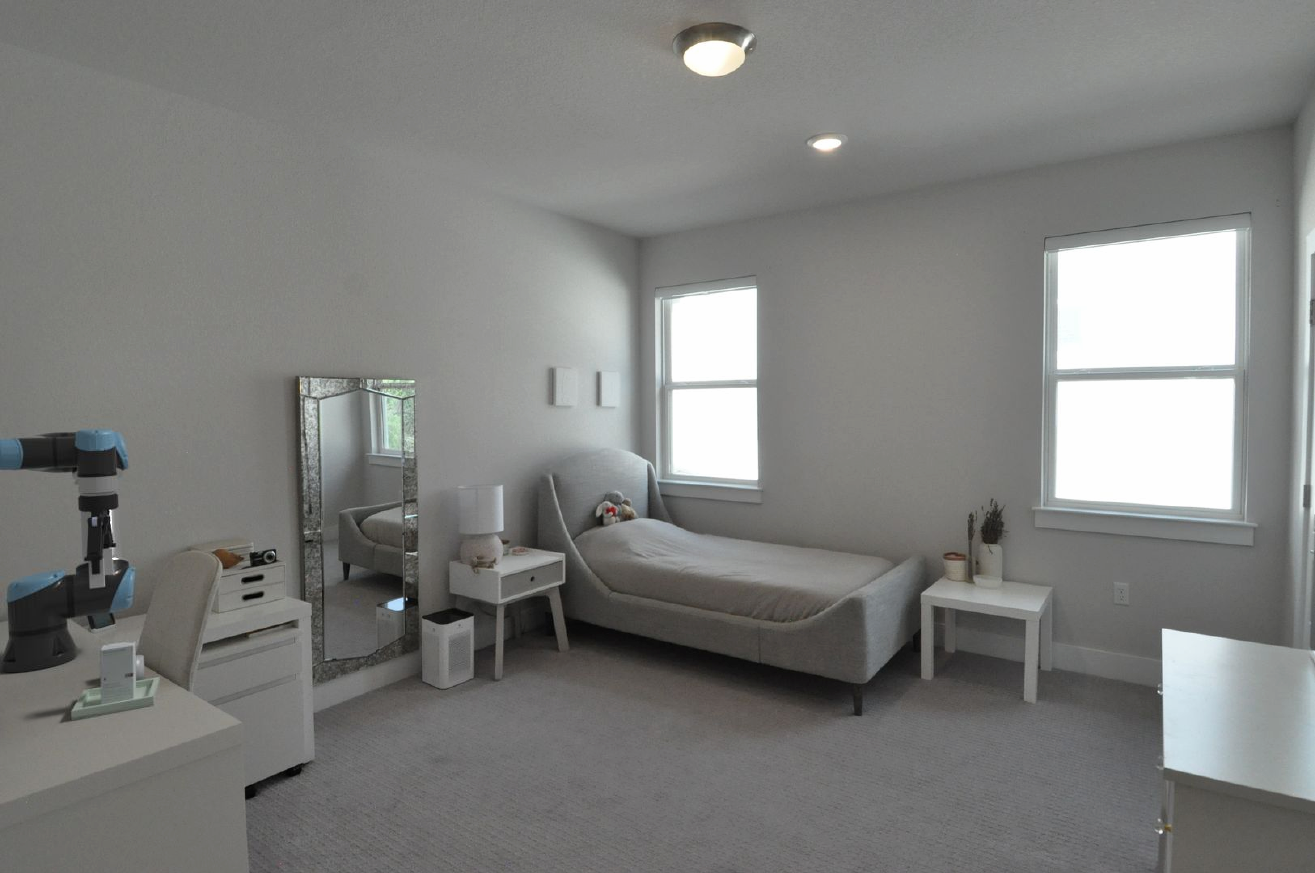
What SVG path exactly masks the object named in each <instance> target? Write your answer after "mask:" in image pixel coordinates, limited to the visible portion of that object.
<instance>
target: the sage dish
mask: <svg viewBox="0 0 1315 873" xmlns="http://www.w3.org/2000/svg"><path fill="white" fill-rule="evenodd" d="M160 679H161V678H160V676H158V677H157V676H156V677H152V678H147V679H146V678H145V680H139V681H136V694H135V696H134V698H133V699H129V700H123V701H118V702H112V703H106V704H101V686H100V687H93V688H88V689H84V690H83V691H82V692H81V694H80V696H79V698H78V699H77V701H76V703H75V704H74V706H73V707H72V710H71V711H70V712H71V713H70V715H71V722H73V721H79V720H84V719H88V718H95V717H100V716H105V715H110V714H115V713H120V712H126V711H131V710H137V709H141V708H147V707H151V706H154V705H155V703H156V699H157V695H158V692H159V690H160V687H161V686H160V685H161V681H160ZM154 702H155V703H154Z"/></svg>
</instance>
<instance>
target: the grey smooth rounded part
mask: <svg viewBox="0 0 1315 873" xmlns="http://www.w3.org/2000/svg"><path fill="white" fill-rule="evenodd" d="M144 658H145V656H144V655H143V654H136V681H139V680H145V679H146V678H145V659H144Z"/></svg>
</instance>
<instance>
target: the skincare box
mask: <svg viewBox="0 0 1315 873" xmlns="http://www.w3.org/2000/svg"><path fill="white" fill-rule="evenodd" d="M136 655H137V654H136V640H133V641H125V642H117V643H116V642H115V643H110V644H104V645H102V647H101V649H100V650H99V658H100V660H99V664H100V666H99V668H100V669H99V670H100V672H99V673H100V687H101V704H106V703H112V702H118V701H123V700H129V699H133V698H134V696H135V694H136Z"/></svg>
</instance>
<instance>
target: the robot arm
mask: <svg viewBox="0 0 1315 873" xmlns="http://www.w3.org/2000/svg"><path fill="white" fill-rule="evenodd" d="M129 467H130V464H129V456H128V450H127V446H126V443H125V439H124V436H123V435H122V433H120V432H119V431H114V430H113V429H110V428H109V429H106V428H105V429H103V428H101V429H99V428H98V429H95V428H94V429H79V430H78V431H72V432H69V431H68V432H67V431H66V432H63V431H62V432H56V431H55V432H48V433H43V434H37V435H32V436H31V435H30V436H27V437H21V438H20V437H19V438H18V437H10V438H0V471H22V470H23V471H25V470H26V471H31V472H33V471H34V472H40V473H55V474H58V473H59V474H63V473H64V474H66V473H72V474H71V475H72V479H74V480H75V481H74V482H73V483H74V485H75V486H77V491H78V492H77V494H79V496H77V501H78V502H77V504H78V511H80V527H81V528H80V531H81V551H82V555H81V556H82V557H81V558H82V561H81V562H80V563H79V564H77V566H76V567H75V573H73V574H67V573H66V572H65V570H63V569H56V570H48V571H43V572H40V573H34V574H30V575H27V576H23V577H20V578H17V579H14V580H13V581H12V582H10V583H9V584H8V585H7V588H6V599H5V603H7V625H8V640H7V643H6V646H5V648H4V651H3V653H2V656H1V659H0V670H1V672H3V673H25V672H31V671H39V670H43V669H47V668H51V667H55V666H59V665H62V664H65V663H68V662H70V661H72V660H74V659H75V658H77V657H78V646H77V645H76V642H75V641H74V639H73V637H72V635H71V633H70V631H69V629H68V619H75V618H81V617H88V616H96V615H101V614H102V615H103V614H108V613H109V614H112V613H114V612H118V611H125V610H127V609H129V608H130V607H131V606H132V603H133V594H134V587H135V578H136V567H135V566H130V565H129V564H130V562H129V560H128V559H126V558H125V557H123V556H122V544H121V543H122V541H121V540H122V539H121V538H122V537H121V524H120V522H121V521H120V506H119V505H120V504H119V482H118V481H119V479H121V478H122V477H123V475H124V471H126V470H128V469H129Z"/></svg>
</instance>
